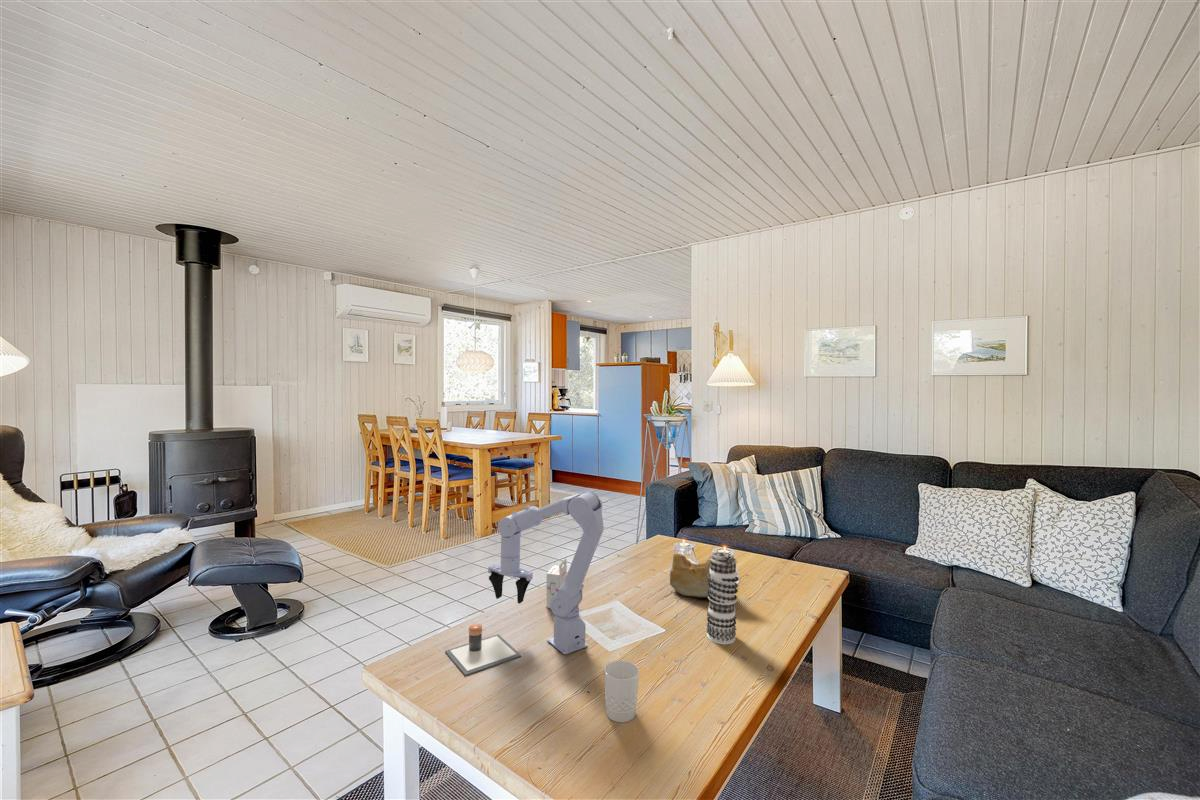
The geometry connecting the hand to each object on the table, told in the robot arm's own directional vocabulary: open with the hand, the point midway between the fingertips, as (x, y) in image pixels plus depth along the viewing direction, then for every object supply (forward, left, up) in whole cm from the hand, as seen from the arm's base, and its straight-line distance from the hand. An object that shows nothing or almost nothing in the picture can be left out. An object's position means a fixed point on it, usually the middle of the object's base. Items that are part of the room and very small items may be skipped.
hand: (509, 599), depth 149 cm
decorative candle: (-40, -50, -10) cm, 65 cm away
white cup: (-49, -3, -10) cm, 50 cm away
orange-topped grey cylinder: (-5, +13, -9) cm, 16 cm away
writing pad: (-8, +12, -9) cm, 17 cm away
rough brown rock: (-16, -71, -10) cm, 73 cm away
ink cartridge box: (+8, -22, -10) cm, 25 cm away
